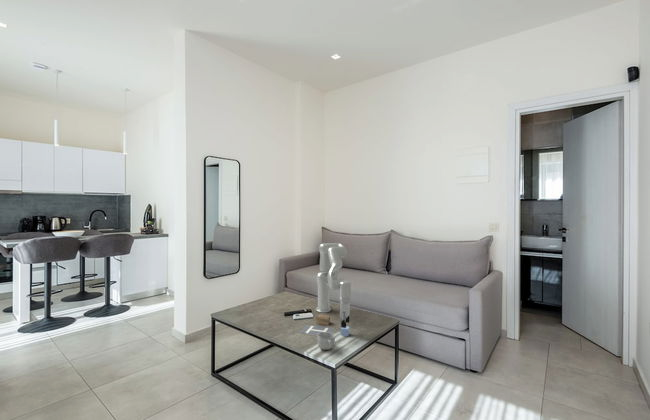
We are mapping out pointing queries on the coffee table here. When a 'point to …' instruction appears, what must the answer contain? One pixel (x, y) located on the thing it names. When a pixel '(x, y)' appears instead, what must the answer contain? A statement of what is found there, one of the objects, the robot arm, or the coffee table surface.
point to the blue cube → (345, 331)
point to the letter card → (315, 329)
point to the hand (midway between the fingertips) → (345, 324)
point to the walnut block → (323, 319)
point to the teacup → (326, 340)
